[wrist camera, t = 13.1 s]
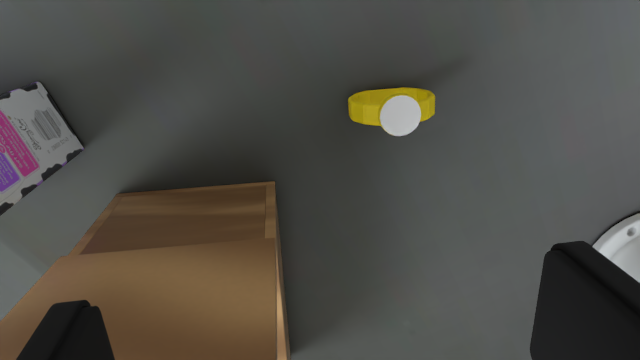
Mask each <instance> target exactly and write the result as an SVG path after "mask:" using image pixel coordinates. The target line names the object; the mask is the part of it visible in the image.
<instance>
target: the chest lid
mask: <svg viewBox="0 0 640 360" xmlns="http://www.w3.org/2000/svg"><path fill="white" fill-rule="evenodd" d="M78 300H87V301H88V302H89V303H90V305H91V306H98V307H99V309H100V311H101V314H102V317H103V321H104V324H105V327H106V331H107V334H108V337H109V341H110V344H111V348H112V351H113V354H114V358H115V360H277V267H276V240H275V238H264V239H253V240H242V241H230V242H219V243H208V244H197V245H185V246H174V247H163V248H152V249H140V250H129V251H118V252H106V253H95V254H84V255H73V256H61V257H60V258H59V259H58V260H57V261H56V262H55V263H54V264H53V265H52V266H51V267H50V268H49V269H48V270H47V272H46V273H45V274H44V275H43V276H42V277H41V278H40V279H39V280H38V281H37V282H36V283H35V285H34V286H33V287H32V288H31V289H30V290H29V291H28V292H27V293H26V294H25V295H24V296H23V298H22V299H21V300H20V301H19V302H18V303H17V304H16V305H15V306H14V307H13V308H12V309H11V311H10V312H9V313H8V314H7V315H6V316H5V317H4V318H3V319H2V320H1V321H0V360H16V359H17V357H18V356H19V354H20V353H21V351H22V350H23V348H24V346H25V345H26V343H27V342H28V340H29V339H30V337H31V336H32V334H33V333H34V331H35V330H36V328H37V327H38V325H39V324H40V322H41V321H42V319H43V318H44V316H45V314H46V313H47V311H48V310H49V308H50V307H51V306H52V305H53V304H55V303H61V302H69V301H78Z"/></svg>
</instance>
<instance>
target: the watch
mask: <svg viewBox="0 0 640 360" xmlns="http://www.w3.org/2000/svg"><path fill="white" fill-rule="evenodd" d="M348 107H349V116H350V118H351V119H352V120H353V121H354V122H358V123H361V124H366V125H376V126H381V127H382V128H383V129H384V130H385V131H386V132H387V133H388V134H391V135H393V136H403V135H407V134H409V133H411V132H412V131H413V130H414V129H415V128H416V127H417V126H418V124H419V122H421V121H425V120H427V119H429V118H430V117H431V116H433V115H434V113H435V95H434V94H433V93H432V92H431V91H428V90H424V89H418V88H406V87H401V88H392V89H379V90H366V91H362V92H359V93H356V94H353V95H352V96H351V97H349V98H348Z"/></svg>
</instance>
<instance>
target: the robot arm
mask: <svg viewBox="0 0 640 360" xmlns="http://www.w3.org/2000/svg"><path fill="white" fill-rule="evenodd" d="M530 353H531V357H532V360H640V213H638V214H636V215H633V216H631V217H629V218H626V219H624V220H623V221H621V222H619V223H618V224H616V225H615V226H613V227H612V228H611V229H609V230H608V231H607V232H606V233H605V234H603V235H602V236H601V237H600V238H599V239H598V241H597V242H596V243H595V244H594V245H593V246H591V245H589V244H588V243H586V242H584V241H575V242H567V243H558V244H555V245H553V247H552V248H551V251H549V252H547V253H546V255H545V257H544V263H543V269H542V275H541V282H540V288H539V294H538V301H537V307H536V313H535V319H534V326H533V332H532V338H531V345H530ZM16 360H115V358H114V354H113V351H112V348H111V344H110V341H109V337H108V334H107V331H106V327H105V324H104V321H103V317H102V314H101V311H100V309H99V307H98V306H91V305H90V303H89V302H88V301H87V300H78V301H69V302H61V303H55V304H53V305H52V306H51V307H50V308H49V310H48V311H47V313H46V314H45V316H44V318H43V319H42V321H41V322H40V324H39V325H38V327H37V328H36V330H35V331H34V333H33V334H32V336H31V337H30V339H29V340H28V342H27V343H26V345H25V346H24V348H23V350H22V351H21V353H20V354H19V356H18V357H17V359H16Z"/></svg>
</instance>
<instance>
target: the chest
mask: <svg viewBox="0 0 640 360" xmlns="http://www.w3.org/2000/svg"><path fill="white" fill-rule="evenodd" d="M264 238H275V240H276V267H277V360H291V354H290V343H289V332H288V321H287V309H286V298H285V287H284V276H283V265H282V254H281V243H280V232H279V221H278V210H277V199H276V188H275V181H270V182H258V183H245V184H233V185H220V186H208V187H195V188H183V189H170V190H158V191H145V192H132V193H120V194H116V196H115V197H114V198H113V200H112V201H111V202H110V203H109V205H108V206H107V207H106V208H105V210H104V211H103V212H102V213H101V215H100V216H99V217H98V218H97V220H96V221H95V222H94V223H93V225H92V226H91V227H90V228H89V230H88V231H87V232H86V233H85V235H84V236H83V237H82V238H81V240H80V241H79V242H78V243H77V245H76V246H75V247H74V248H73V250H72V251H71V252H70V253H69V255H68V256H73V255H84V254H95V253H106V252H118V251H129V250H140V249H152V248H163V247H174V246H185V245H197V244H208V243H219V242H230V241H242V240H253V239H264Z"/></svg>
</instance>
